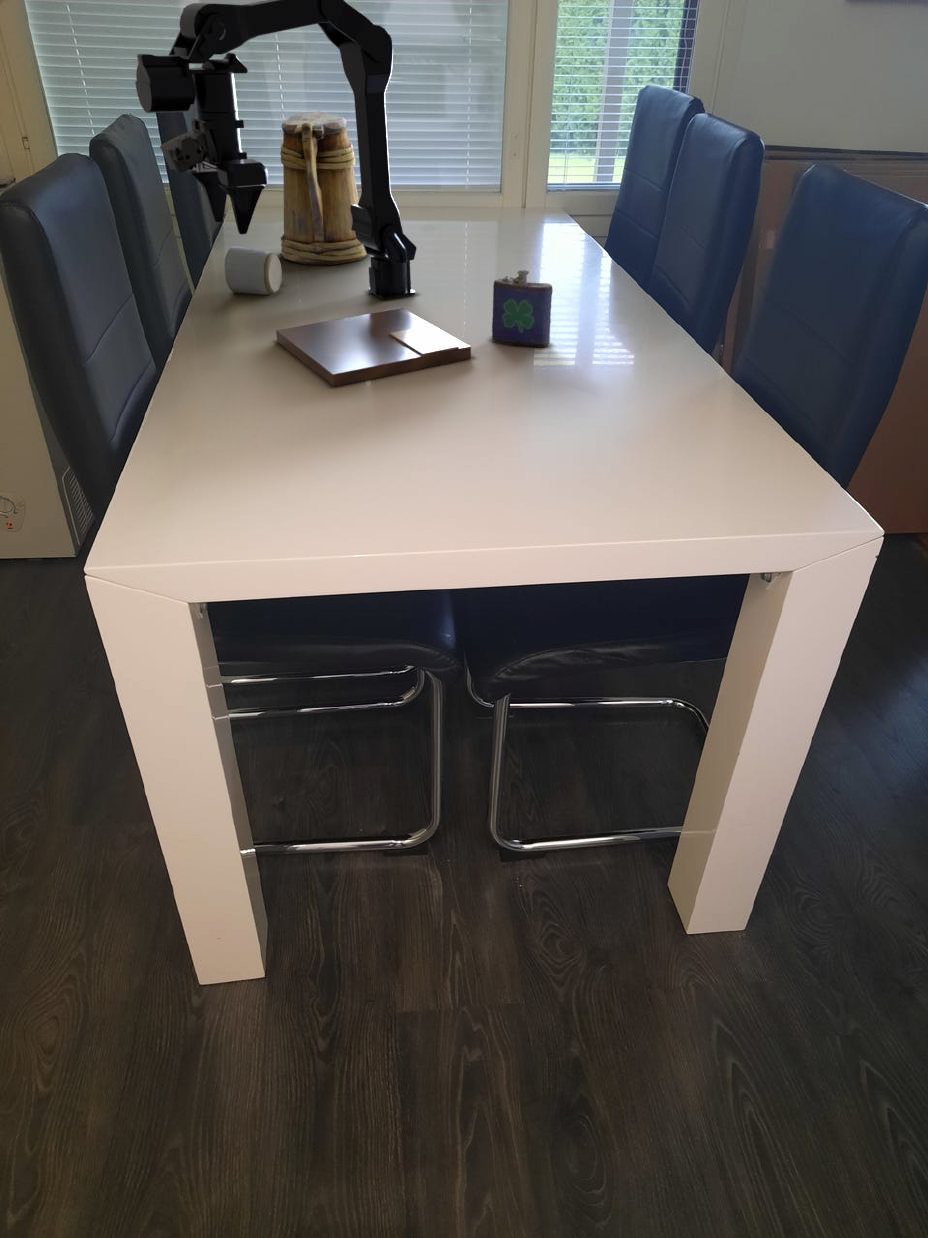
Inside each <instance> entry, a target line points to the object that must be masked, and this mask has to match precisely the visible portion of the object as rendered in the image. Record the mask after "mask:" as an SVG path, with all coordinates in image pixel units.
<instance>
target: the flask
mask: <svg viewBox="0 0 928 1238" xmlns="http://www.w3.org/2000/svg"><path fill="white" fill-rule="evenodd" d="M529 273H530V271H529V270H526V269H523V270H518V271H517V274H518V276H517V277H515V278H514V277H511V276H508V275H506V276H504V277H503V278H497V279H495V280H494V282H493V289H492V290H493V291H492V293H493V294H492V320H491V321H492V322H491V339H492V342H495V343H499V344H505V345H511V346H519V347H520V346H521V347H530V348H531V347H532V348H547V347H549V345H550V340H551V323H552V321H551V319H552V318H551V317H552V314H551V313H552V301H553V300H552V299H553V298H552V297H553V289H554V288H553V286H552V284H551V283H547V282H545V283H544V282H529V281H528V279H527V275H529Z"/></svg>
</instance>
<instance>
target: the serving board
mask: <svg viewBox="0 0 928 1238" xmlns="http://www.w3.org/2000/svg"><path fill="white" fill-rule="evenodd" d="M275 335H276V341H277V342H276V343H279V344H280V345H281V346H282V347H283V348H285V349H286V350H287V351H288V352H289V353H291V354H292V355H293V356H295V357H296V359H298V360H299V361H300V362H302V363H303V364H305V365H306V366H307V367H308V368H309V369H310V370H312V371H314V373H316V374H317V375H318V376H320V378H322V379H324V380H325V381H326V382H327V383H329V384H330V386H332V387H333V388H336V387H341V386H345V385H351V384H355V383H360V382H364V381H371V380H375V379H378V378H383V377H388V376H393V375H398V374H403V373H408V372H413V371H417V370H421V369H426V368H431V367H436V366H441V365H446V364H450V363H456V362H459V361H464V360H469V359H472V346H471V345H469V344H468V343H465V342H464V341H462V340H460V339H458V338H456V337H455V336H453V335H451V334H450V333H447V332H446V331H444V330H443V329H442V328H441V329H440V328H439V327H437V326H436V325H433V324H432V323H430V322H428V321H426V320H424V319H423V318H421V317H419V316H417V315H416V314H414V313H412V312H410V311H409V310H407V309H405V308H404V307H401V308H394V309H389V310H383V311H377V312H372V313H366V314H360V315H355V316H349V317H344V318H337V319H331V320H327V321H320V322H315V323H314V322H313V323H309V324H303V325H298V326H293V327H287V328H280V329H276V330H275Z"/></svg>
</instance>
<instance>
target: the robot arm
mask: <svg viewBox="0 0 928 1238" xmlns="http://www.w3.org/2000/svg"><path fill="white" fill-rule="evenodd" d="M312 25H318V26H319V28H320V30H322V32H323V34H324V35H325V37H326V39H328V40H329V41H330V42H331V43H332V44H333V45H334V46H335V47H336V48H337V49H338V50H339V55H340V58H341V63H342V68H343V72H344V75H345V77H346V79H347V81H348V83H349V86H350V88H351V90H352V93H353V97H354V110H355V123H356V124H355V125H356V136H357V137H356V138H357V149H358V150H357V151H358V163H359V173H360V174H359V175H360V176H359V177H360V187H361V190H360V191H361V193H360V197H359V202H358V205H351V207H350V210H351V215H352V228H351V230H353V231H355V234H356V238H357V240H359V242H360V243H361V244H362V245H363V246H364V248H365V251H366V253H367V255H369V256H371V257H369V258H370V266H369V267H368V279H369V281H368V282H369V288H368V292H369V293H371V294H372V295H374V296H376V297H378V298H379V299H382V300H390V299H396V298H403V297H408V296H413V295H416V291H415V290H414V289H412V277H411V276H412V275H411V261H414V260H415V257H416V253H417V246H416V245H415V244H414V242H412V241H411V240H410V239H409V237H408V236H407V235H406V234H404V230H403V224H402V220H401V219H402V218H401V214H400V211H399V209H398V207H397V204H396V202H395V200H394V197H393V196H392V192H391V177H390V161H389V147H388V146H389V145H388V129H387V127H388V126H387V113H386V112H387V111H386V91H387V89H388V88H387V87H388V85H389V82H390V79H391V76H392V74H393V73H392V71H393V61H394V60H393V59H394V57H393V56H394V44H393V39H392V36H391V34H389V32H388V31H387V30H386V29H385V28H384V27H383V26H381V25H378V24H375V23H373V22H372V21H371V20H370V19H369V18H368V17H367V16H366V15H364V14H362V13H361V12H360V11H358V10H357V9H356V8H354V7H353V6H351V5H350V4H349V3H348V2H346V1H345V0H261V1H256V2H249V3H245V4H244V3H243V4H235V3H234V4H233V3H232V4H230V3H212V2H211V3H208V2H194V3H193V2H192V3H190V4H187V5H186V6H184V7H183V9H182V13H181V14H180V17H179V32H178V34H177V36H176V38H175V40H174V43H173V45H172V46H171V49H170V51H169V53H168V55H154V54H151V53H150V54H149V53H138V54H137V55H136V58H137V64H138V65H137V67H136V75H135V77H136V78H135V79H136V80H135V81H134V84H135V89H136V90H135V91H136V94H137V97H138V101H139V104H140V105H141V108H142V109H143V111H144V112H145V113H146V114H157V113H159V114H160V113H187V112H189V111H190V109H191V105H195V110H196V117H192V120H191V121H190V123H191V130H190V131H187V132H185V133H182V134H180V135H178V136H176V137H174V138H172V139H170V140H168V141H166V142H164V143H162V144H160V145H159V148H160V151H161V153H162V155H163V157H164V158H165V161H166V163H167V165H168V167H169V169H170V170H174V171H175V172H176V173H178V174H181V173H185V172H187V174H188V175H190V176H192V178H194V179H195V180H196V181H197V182H198V183H199V184H200V186H201V188H202V191H203V193H204V196H205V198H206V201H207V204H208V206H209V208H210V211H211V214H212V216H213V220H214V221H215V222H216V223H222V222H223V221H224V218H225V217H224V216H225V211H226V205H227V198H228V196H229V199H230V203H231V207H232V211H233V216H234V220H235V224H236V228H237V231H238V232H237V233H238V234H239V235H247V234H248V231H249V228H250V225H251V222H252V219H253V216H254V213H255V210H256V208H257V204H258V202H259V199H260V197H261V194H262V191H263V190H265V188H266V185H269V183H270V180H269V169H268V168H267V167H266V166H265V165H264V164H263V163H262V162H261V161H258V160H255V159H253V158H248V152H247V151H245V150H242V142H241V131H240V129H245V121H244V119H241V118H239V113H238V103H237V93H236V84H235V75H236V74H241V75H242V74H248V72H249V69H248V67H247V66H245V64H244V63H243V62H242V61H241V60H239V58H238V56H237V55H236V53H233V52H231V51H233V50H235V49H238V48H240V47H242V46H244V45H245V44H246V43H248V42H249V41H251V40H252V39H254V38H257V37H260V36H265V35H270V34H274V33H275V34H276V33H280V32H284V31H289V30H293V29H298V28H303V27H307V26H308V27H309V26H312ZM215 55H216V56H217V55H220V56H222V55H225V56H224V57H223V58H213V57H214V56H215ZM190 64H191V65H197V64H199V65H200V64H201V67H190ZM234 74H235V75H234Z"/></svg>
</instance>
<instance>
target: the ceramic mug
mask: <svg viewBox="0 0 928 1238" xmlns="http://www.w3.org/2000/svg"><path fill="white" fill-rule="evenodd" d="M282 270H283V269H282V264H281V261H280V259H279V257H278V256H277V254H275V253H273V252H271V251H268V250H263V249H254V248H249V247H244V246H243V247H242V246H236V245H233V246H230V248H229V249H228V250H227V252H226V255H225V259H224V277H225V282H226V284H227V287H228V289H229V290H230V291H231V292H232V293H235V294H249V295H264V296H267V295H274V294H276V293H277V292H278V291H279V289H280V287H281V284H282V275H283V274H282V273H283V271H282Z"/></svg>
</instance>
